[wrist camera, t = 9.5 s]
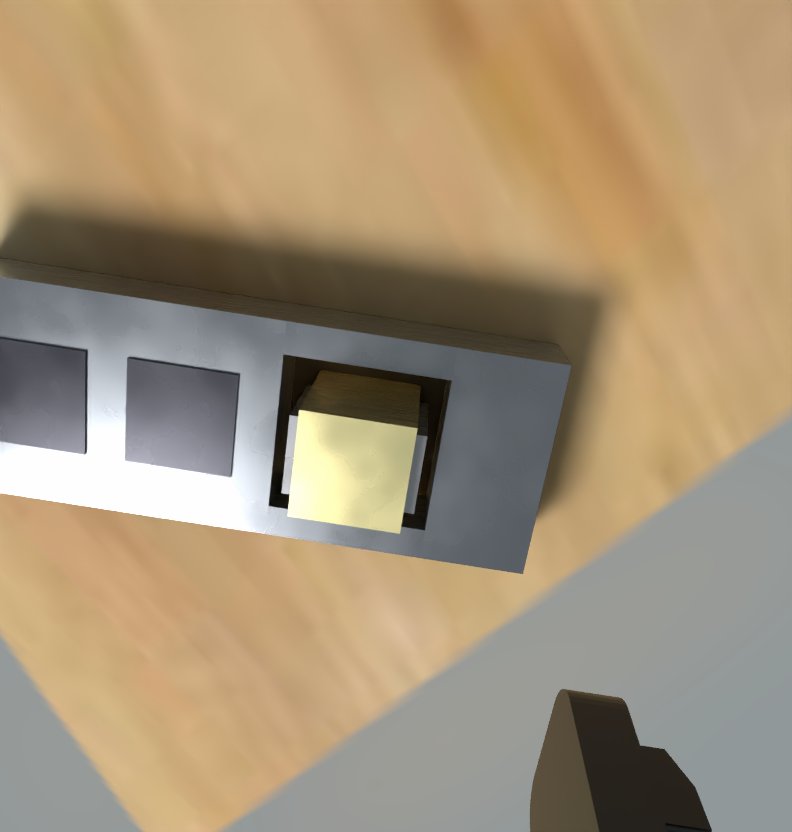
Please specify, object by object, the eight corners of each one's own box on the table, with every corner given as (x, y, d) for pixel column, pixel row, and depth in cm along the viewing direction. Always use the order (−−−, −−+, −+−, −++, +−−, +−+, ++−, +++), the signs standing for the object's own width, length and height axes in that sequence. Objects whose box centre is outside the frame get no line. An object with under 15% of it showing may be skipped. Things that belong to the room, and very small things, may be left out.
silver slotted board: (-7, 256, 28) (-58, 268, 26) (558, 344, 29) (572, 366, 26) (0, 456, 31) (-45, 487, 28) (514, 536, 31) (523, 575, 28)
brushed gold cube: (311, 367, 29) (287, 408, 25) (430, 386, 29) (429, 430, 25) (300, 459, 31) (276, 514, 26) (415, 477, 31) (411, 535, 26)
